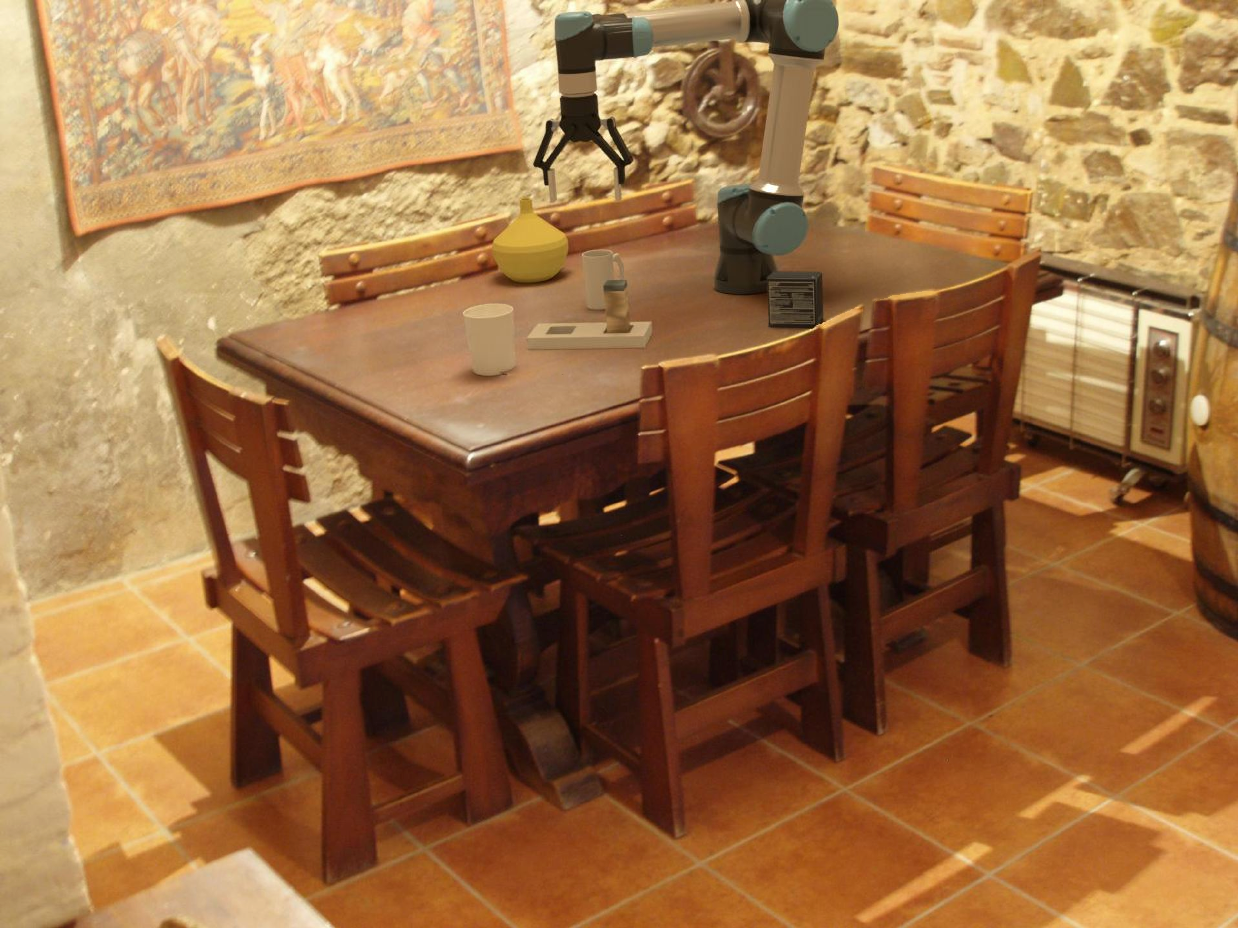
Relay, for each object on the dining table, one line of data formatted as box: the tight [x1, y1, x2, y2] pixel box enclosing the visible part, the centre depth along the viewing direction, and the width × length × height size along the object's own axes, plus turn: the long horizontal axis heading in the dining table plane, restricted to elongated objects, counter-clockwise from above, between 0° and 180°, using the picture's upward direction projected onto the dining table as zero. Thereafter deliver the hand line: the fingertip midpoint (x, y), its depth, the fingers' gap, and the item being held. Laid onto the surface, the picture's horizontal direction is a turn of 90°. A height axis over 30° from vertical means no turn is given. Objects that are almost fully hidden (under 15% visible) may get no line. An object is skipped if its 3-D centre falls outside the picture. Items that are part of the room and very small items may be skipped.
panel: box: [526, 321, 653, 351], centre depth 291 cm, size 24×10×3 cm, turn 80°
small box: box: [766, 270, 824, 329], centre depth 293 cm, size 11×6×10 cm, turn 71°
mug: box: [581, 249, 625, 311], centre depth 316 cm, size 10×7×12 cm, turn 125°
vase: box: [491, 197, 569, 284], centre depth 342 cm, size 18×18×19 cm
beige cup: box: [462, 303, 516, 377], centre depth 278 cm, size 10×10×12 cm
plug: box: [603, 279, 631, 333], centre depth 288 cm, size 4×4×12 cm
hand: (585, 201), depth 290 cm, fingers open, 13 cm apart
